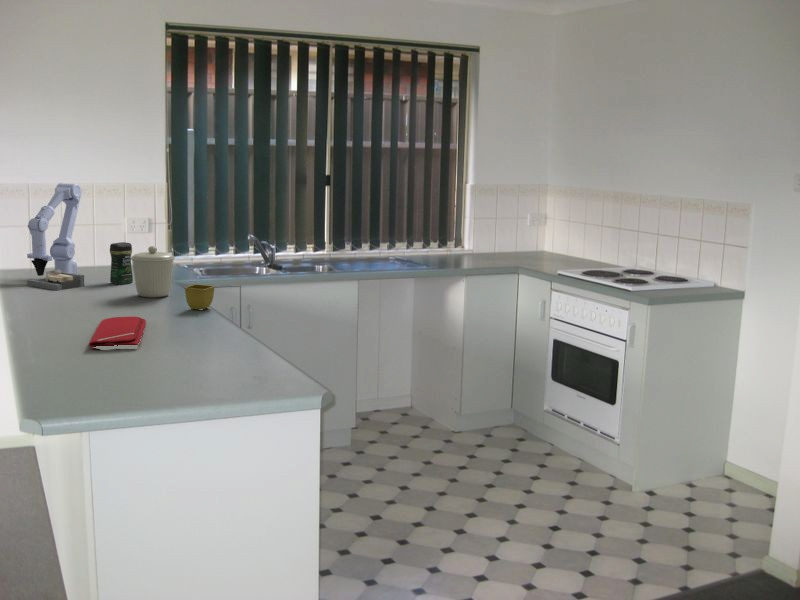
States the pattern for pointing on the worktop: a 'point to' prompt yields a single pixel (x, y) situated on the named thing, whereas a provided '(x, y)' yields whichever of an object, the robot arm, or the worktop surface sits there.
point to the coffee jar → (121, 263)
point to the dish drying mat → (118, 331)
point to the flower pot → (199, 296)
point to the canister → (153, 272)
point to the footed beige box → (57, 276)
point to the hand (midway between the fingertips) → (40, 275)
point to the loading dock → (76, 282)
